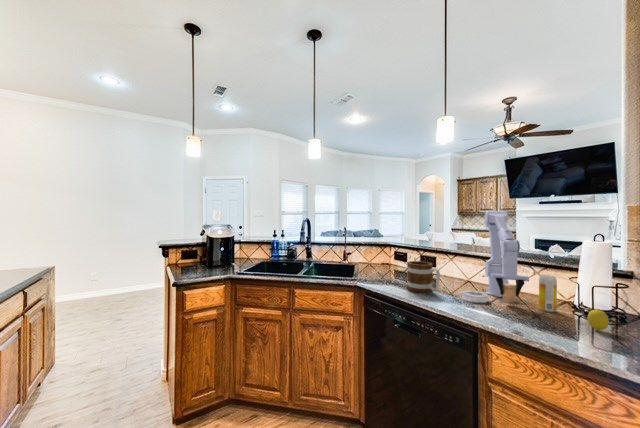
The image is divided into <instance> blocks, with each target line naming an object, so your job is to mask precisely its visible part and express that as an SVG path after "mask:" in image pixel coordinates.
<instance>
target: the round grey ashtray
mask: <svg viewBox="0 0 640 428" xmlns="http://www.w3.org/2000/svg"><path fill="white" fill-rule="evenodd" d="M461 299H462V300H464V301H466V302H469V303H476V304H486V303H488V300H489V294H486V293H485V292H483V291H479V290H469V289H468V290H462V292H461Z"/></svg>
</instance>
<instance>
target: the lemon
mask: <svg viewBox="0 0 640 428" xmlns="http://www.w3.org/2000/svg"><path fill="white" fill-rule="evenodd" d="M609 321H610V319H609V317H608V315H607V314H606V312H604V311H603V310H601V309H600V308H596V309H591V310H590V311H588V314H587V322H588V324H589V325H590V327H592V329H595V330H596V331H597V330H598V332H600V331H603V330H605V329H607V328H608V326H609V324H610V322H609Z"/></svg>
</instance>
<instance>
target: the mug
mask: <svg viewBox="0 0 640 428" xmlns="http://www.w3.org/2000/svg"><path fill="white" fill-rule="evenodd" d="M406 263H407V264H406V265H407V273H406V279H407V284H406V286H407V287H406V290H407V291H408V292H410V293H415V294H419V293H420V294H422V295H423V293H427V294H431V293H433V292H437V291H438V290H439V288H440V279H441V278H440V277H441V273H440V269H438V268H437V267H434V268H433V266H434V263H432V262H429V261H423V260H421V261H420V260H417V261H416V260H415V261H414V260H410V261H408V262H406ZM434 271H435V273H436V277H435V287H433V280H434V274H433V272H434Z"/></svg>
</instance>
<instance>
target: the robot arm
mask: <svg viewBox="0 0 640 428" xmlns="http://www.w3.org/2000/svg"><path fill="white" fill-rule="evenodd" d="M508 219H509V213H508V211H507V210H486V211H485V213H484V226H485V227H486V228H487V229H488V232H489V247H490V248H489V249H490V259H488V260H487V261H485V264H484V265H485V266H484V272H485V275H486V276H487V277H488V291H484V293H486V294H488V295H491V296H495V297H498V298H501V297H502V298H503V284H510V282H509V281H515V285H516V286H517V289H516V298H518V297H520V292H521V290H522V288H523V286H524V285H525V282H530V276H527V275H526V276H525V275H519V274H518V253H520V249H521V246H520V245H521V244H520V240H518V239H517V238H515V237H514V234H513V232H512V230H511V229H510V228H508V226H507V224H508V223H507V222H508Z"/></svg>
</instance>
